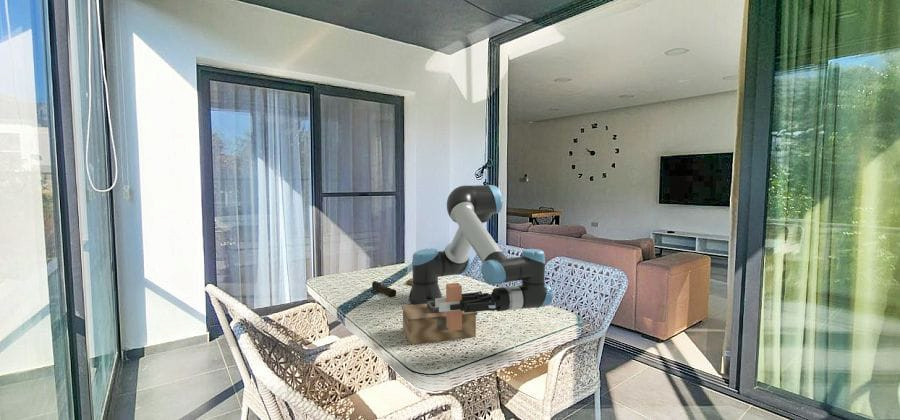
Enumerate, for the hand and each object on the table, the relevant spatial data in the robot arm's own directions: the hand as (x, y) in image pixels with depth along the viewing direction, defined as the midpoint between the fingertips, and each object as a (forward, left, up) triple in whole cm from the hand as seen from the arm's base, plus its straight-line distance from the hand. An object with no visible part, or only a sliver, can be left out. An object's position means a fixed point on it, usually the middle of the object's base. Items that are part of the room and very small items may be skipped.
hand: (437, 305), depth 128 cm
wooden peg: (+4, +4, -8) cm, 10 cm away
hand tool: (-61, +47, -18) cm, 79 cm away
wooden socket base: (-10, +18, -17) cm, 27 cm away
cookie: (-55, +70, -18) cm, 91 cm away
